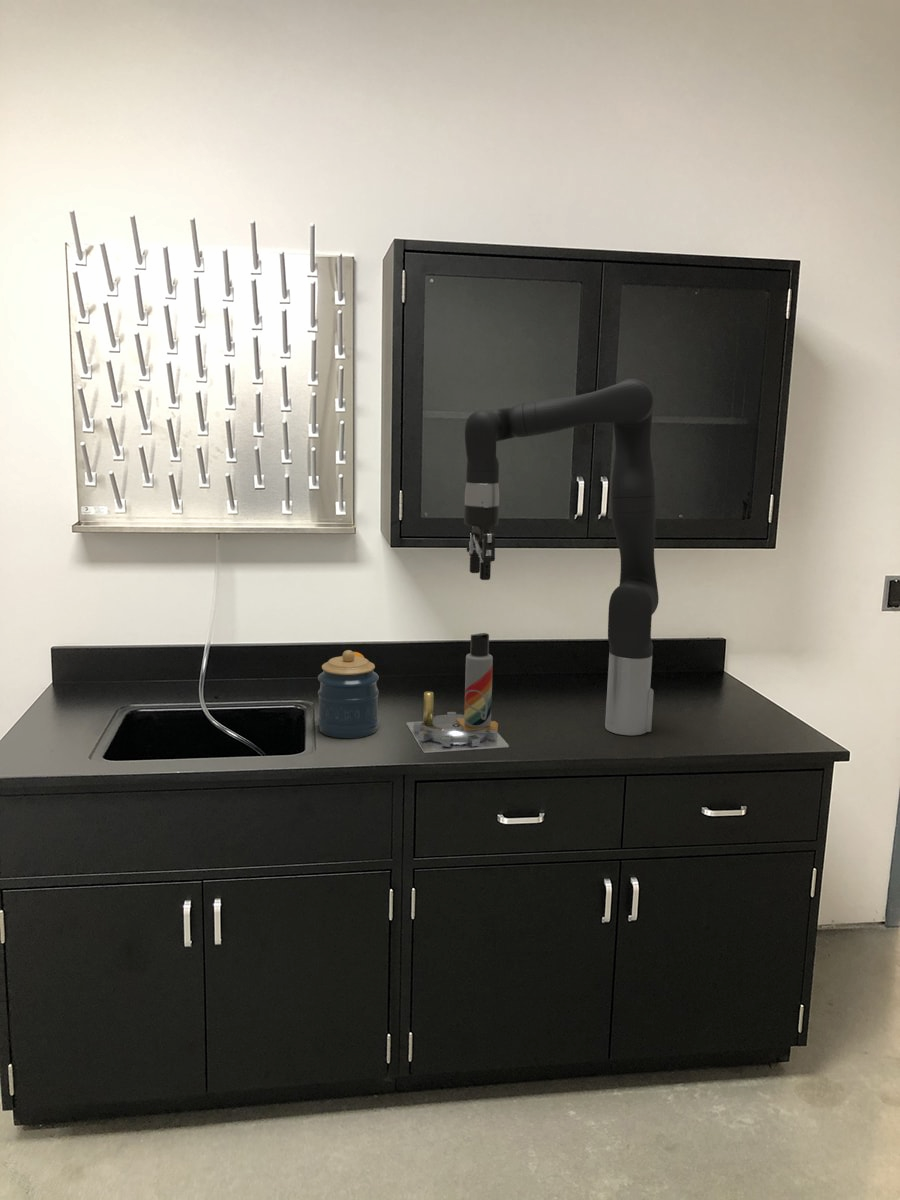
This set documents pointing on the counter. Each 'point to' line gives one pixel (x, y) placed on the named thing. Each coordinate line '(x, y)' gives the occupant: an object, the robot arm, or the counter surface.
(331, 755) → the counter surface
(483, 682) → the lotion bottle
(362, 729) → the canister
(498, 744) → the base plate
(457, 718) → the sprocket
